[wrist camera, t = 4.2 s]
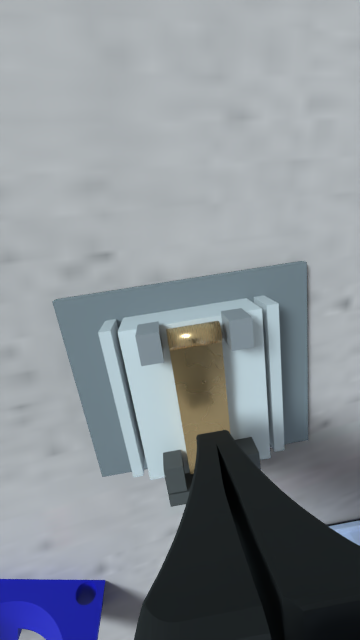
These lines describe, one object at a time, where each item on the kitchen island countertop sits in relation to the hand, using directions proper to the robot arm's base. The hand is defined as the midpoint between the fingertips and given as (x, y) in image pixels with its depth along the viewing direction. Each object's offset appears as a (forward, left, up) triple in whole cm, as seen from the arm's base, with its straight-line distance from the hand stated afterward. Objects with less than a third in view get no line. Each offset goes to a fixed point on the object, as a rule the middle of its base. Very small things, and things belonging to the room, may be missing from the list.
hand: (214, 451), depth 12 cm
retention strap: (0, -1, -3) cm, 3 cm away
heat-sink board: (0, -1, -6) cm, 6 cm away
